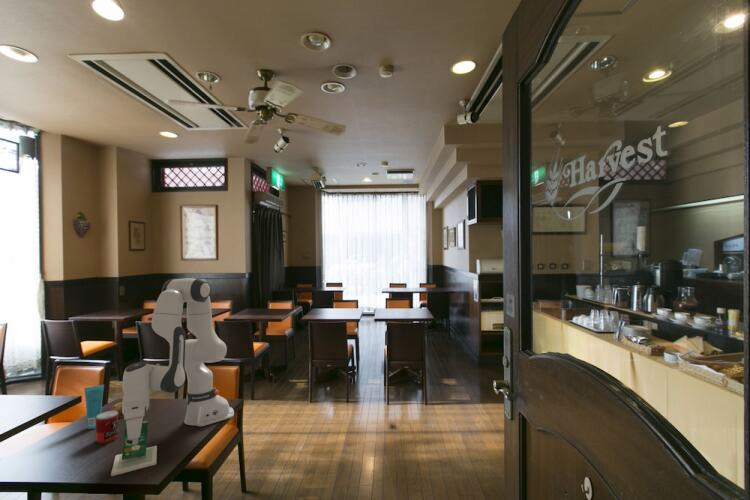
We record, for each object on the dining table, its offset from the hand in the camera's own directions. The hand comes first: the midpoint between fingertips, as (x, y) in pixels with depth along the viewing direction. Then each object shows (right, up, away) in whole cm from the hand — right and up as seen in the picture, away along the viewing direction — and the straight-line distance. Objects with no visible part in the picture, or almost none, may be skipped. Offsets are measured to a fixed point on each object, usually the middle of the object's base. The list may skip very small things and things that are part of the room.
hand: (135, 441), depth 138 cm
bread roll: (-36, -10, +42) cm, 56 cm away
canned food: (-24, -9, +17) cm, 31 cm away
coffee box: (0, -6, 0) cm, 6 cm away
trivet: (0, -8, 0) cm, 8 cm away
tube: (-39, -9, +29) cm, 49 cm away
